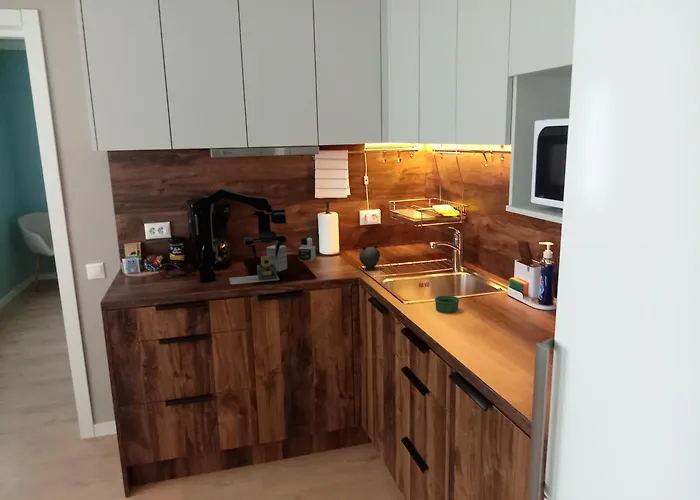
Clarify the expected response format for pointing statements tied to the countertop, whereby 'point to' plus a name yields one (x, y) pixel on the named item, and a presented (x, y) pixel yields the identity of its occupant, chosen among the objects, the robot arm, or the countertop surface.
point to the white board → (247, 279)
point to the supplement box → (278, 257)
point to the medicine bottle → (306, 250)
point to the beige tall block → (266, 265)
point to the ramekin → (446, 304)
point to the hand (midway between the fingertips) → (266, 257)
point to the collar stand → (260, 270)
